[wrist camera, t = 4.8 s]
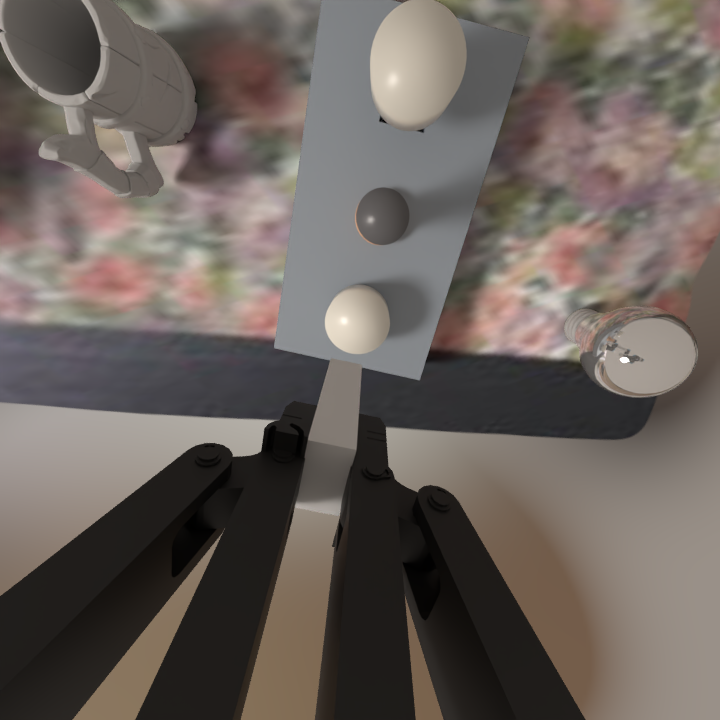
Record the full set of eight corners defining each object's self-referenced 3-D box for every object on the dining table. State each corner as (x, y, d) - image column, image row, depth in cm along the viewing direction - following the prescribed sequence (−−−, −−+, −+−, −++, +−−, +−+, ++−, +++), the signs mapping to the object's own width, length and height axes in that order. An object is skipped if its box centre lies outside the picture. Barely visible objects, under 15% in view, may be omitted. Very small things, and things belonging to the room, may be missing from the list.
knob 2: (364, 134, 26) (360, 105, 20) (380, 49, 24) (383, -14, 18) (430, 151, 26) (449, 128, 20) (452, 68, 24) (480, 12, 18)
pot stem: (351, 238, 28) (343, 243, 21) (361, 185, 27) (357, 172, 20) (398, 249, 28) (405, 258, 21) (411, 197, 27) (424, 188, 20)
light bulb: (556, 367, 36) (637, 432, 25) (525, 314, 34) (599, 359, 23) (622, 329, 34) (742, 382, 23) (594, 271, 32) (711, 298, 21)
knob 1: (329, 323, 35) (319, 346, 28) (339, 271, 33) (331, 284, 26) (379, 334, 35) (381, 360, 28) (392, 284, 33) (397, 299, 27)
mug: (196, 40, 27) (71, -87, 16) (210, 205, 31) (120, 196, 20) (100, 33, 27) (-92, -99, 16) (127, 199, 31) (-8, 186, 20)
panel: (284, 334, 36) (274, 347, 32) (331, 15, 26) (323, -19, 22) (414, 364, 36) (419, 380, 33) (508, 63, 27) (529, 37, 23)
